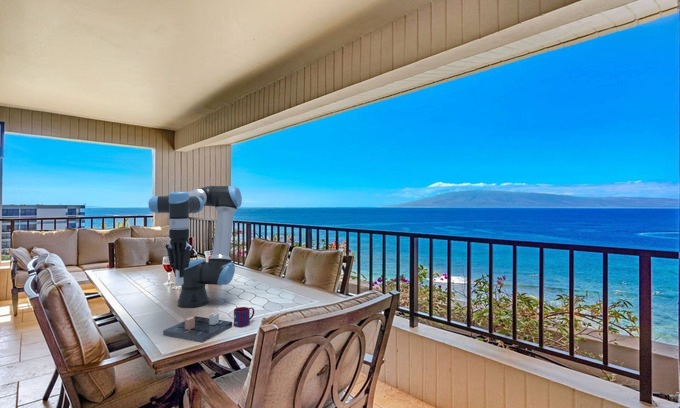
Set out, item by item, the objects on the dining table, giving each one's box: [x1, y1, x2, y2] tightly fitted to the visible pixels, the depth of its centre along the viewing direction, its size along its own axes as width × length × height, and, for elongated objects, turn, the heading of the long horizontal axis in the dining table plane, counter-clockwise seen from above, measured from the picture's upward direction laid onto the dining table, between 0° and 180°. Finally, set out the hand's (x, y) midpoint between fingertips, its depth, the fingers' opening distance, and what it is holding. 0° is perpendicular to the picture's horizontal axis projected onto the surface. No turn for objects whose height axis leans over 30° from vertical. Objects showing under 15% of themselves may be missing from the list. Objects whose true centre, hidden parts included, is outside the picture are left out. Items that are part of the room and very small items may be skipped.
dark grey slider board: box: [162, 315, 233, 343], centre depth 142 cm, size 20×18×2 cm
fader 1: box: [184, 316, 195, 330], centre depth 139 cm, size 2×3×4 cm
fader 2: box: [208, 312, 220, 325], centre depth 145 cm, size 2×3×4 cm
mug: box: [233, 306, 255, 328], centre depth 151 cm, size 7×10×7 cm
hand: (179, 284), depth 141 cm, fingers closed
